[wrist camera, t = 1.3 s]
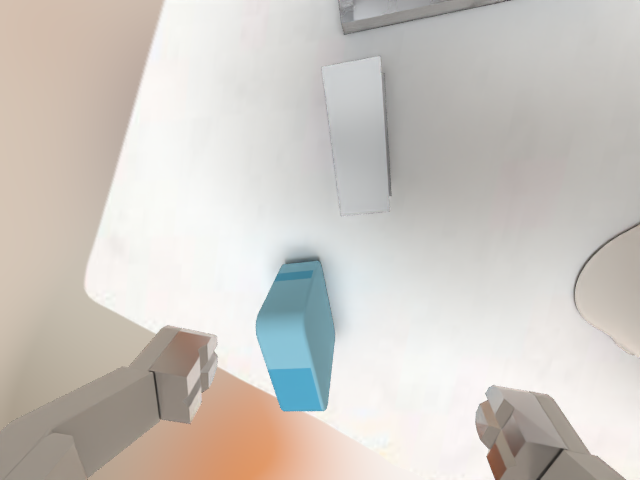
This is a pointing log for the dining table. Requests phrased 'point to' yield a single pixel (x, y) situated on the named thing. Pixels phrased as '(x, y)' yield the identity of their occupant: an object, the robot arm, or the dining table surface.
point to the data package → (298, 337)
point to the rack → (397, 11)
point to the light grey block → (359, 134)
